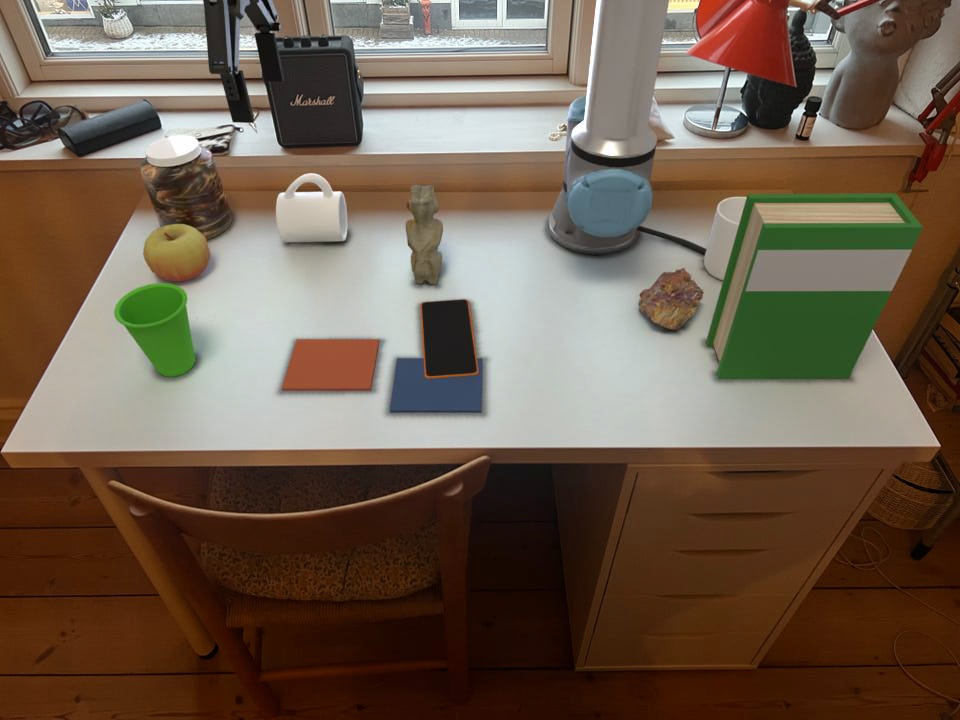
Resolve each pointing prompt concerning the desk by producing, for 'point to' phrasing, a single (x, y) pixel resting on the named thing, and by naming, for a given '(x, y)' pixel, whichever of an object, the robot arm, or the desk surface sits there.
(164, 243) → the apple
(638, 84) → the robot arm
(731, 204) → the mug
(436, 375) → the smartphone
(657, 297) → the mineral specimen
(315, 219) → the mug
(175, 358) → the cup
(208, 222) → the jar
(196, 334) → the desk surface
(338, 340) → the terracotta mat
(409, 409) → the blue mat
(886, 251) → the hardback book
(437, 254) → the sculpture
